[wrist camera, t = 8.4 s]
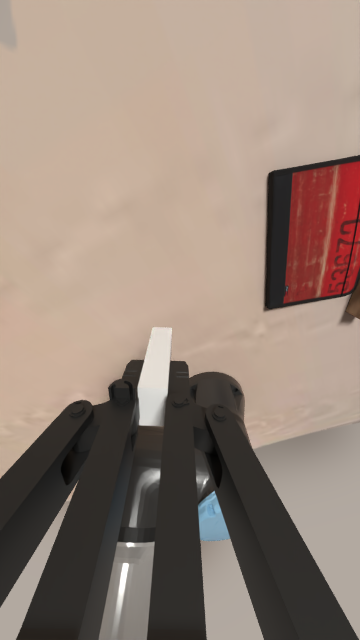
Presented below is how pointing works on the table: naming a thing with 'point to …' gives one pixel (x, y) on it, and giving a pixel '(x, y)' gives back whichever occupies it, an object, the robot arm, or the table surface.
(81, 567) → the robot arm
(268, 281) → the binder
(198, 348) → the table surface
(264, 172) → the table surface
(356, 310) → the rail
